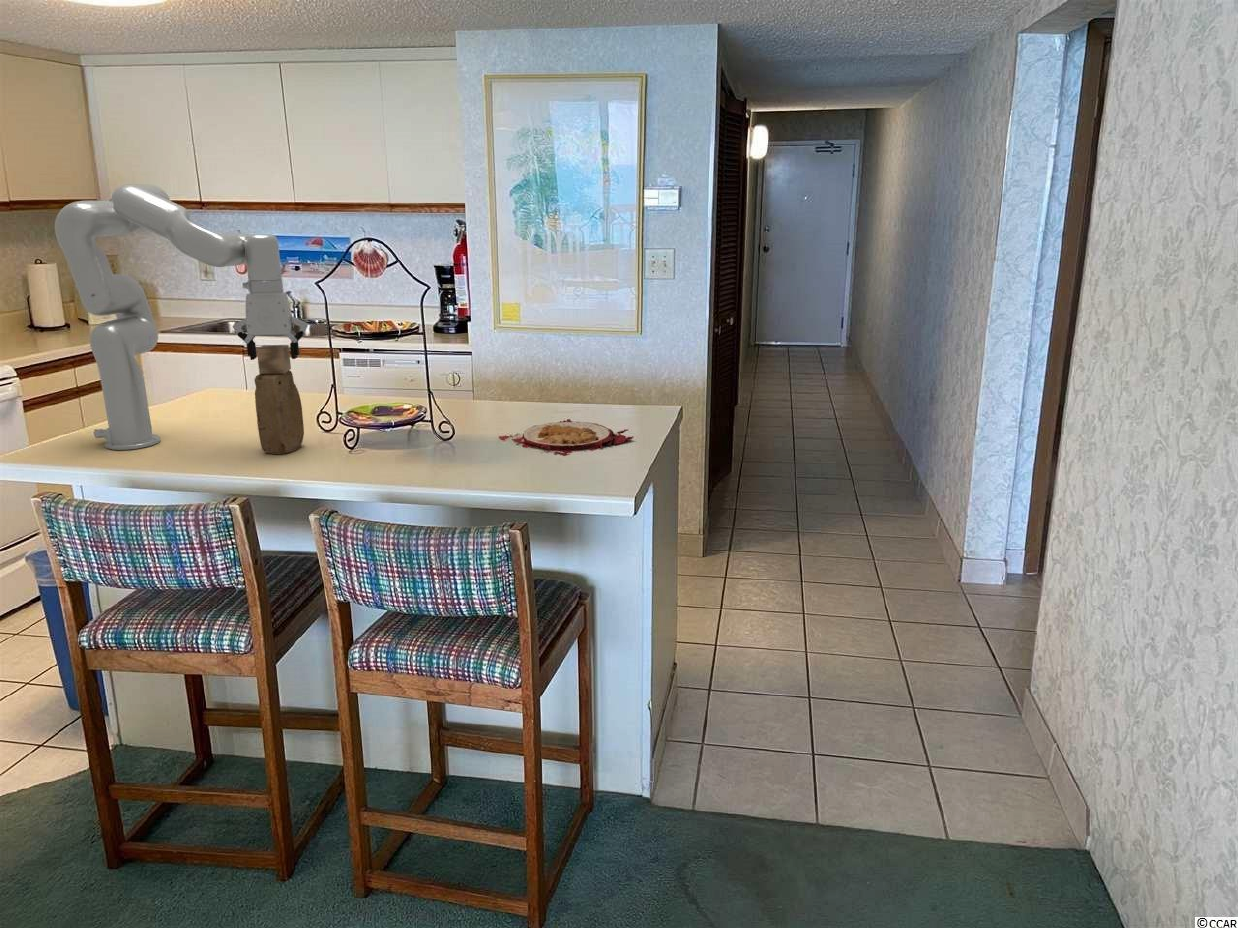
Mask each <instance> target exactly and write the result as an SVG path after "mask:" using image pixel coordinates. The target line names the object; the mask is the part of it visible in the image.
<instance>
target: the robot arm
mask: <svg viewBox="0 0 1238 928" xmlns="http://www.w3.org/2000/svg"><path fill="white" fill-rule="evenodd" d="M142 229H146V230H148V231H150V232H152V233H154V234H156V235H158V236H160V237H162V238H165V239H167V240H168V241H169V242H170V243H171V244H172V246H174V247H175V248H176V249H177V250H179V252H181V253H183V254H184V255H186V256H187V257H190V258H192V259H194V260H196V261H199V262H201V263H203V264H205V265H208V266H211V267H216V268H225V267H226V268H227V267H235V266H241V265H246V271H247V282H242V288H243V289H247V291H248V293H246V295H245V318H243V319H241V320H239V321H238V322H236V323H234V324H233V325H232V329H233V330H234V331H235V333H236V334H237V337H239V338H240V339H241V340H242V341H243V342H244V343H245V344H246V349H247V350H246V352H247V356H248V357H249V358H250V359H249V360H250V361H253V360H255V359H258V357H257V346H256V342H255V341H254V339H255V338H256V337H277V336H278V337H279V336H280V337H282V336H283V337H284V336H286V337H287V338H288V339H289V340H290V343H289V346H290V347H289V350H290V359H292V360H296V359H297V358H298V356H299V355H300V348H299V341H300V340H301V339H302V337H304V335H305V334H306V331H307V329H308V326H309V324H308V323H307V322H305V321H303V320H301V319H299V318H297V317H295V316H293V313H292V309H291V304H290V301H289V297H288V294H287V292H284V283H283V276H282V266H281V256H280V248H279V239H278V238H277V237H276V235H274V234H271V233H270V234H269V233H253V234H248V233H241V232H223V233H222V232H221V233H220V232H219V233H215V232H212V231H209V230H207V229H205V228H202V227H201V226H199V225H197V224H195V223H193V222H191V214H190V213H189V210H188V209H187V208H186V207H184V206H182V205H181V204H177V203H176V202H173V201H172V200H171V198H170V196H169V195H168V193H167V192H166V191H165V190H163V189H162V188H160V187H159V186H156V185H154V184H142V183H141V184H140V183H139V184H137V183H129V184H124V185H120V186H119V187H117V188H116V189H115V190H114V191H113V192H112V194H111V199H110V200H94V199H93V200H90V199H89V200H79V201H73V202H71V203H69V204H67V205H64V206H63V208H61V209H60V211H58V213H57V216H56V218H55V223H54V233H55V236H56V239H57V243H58V245H59V247H60V249H61V250H62V253H63V255H64V257H65V259H66V262H67V265H68V268H69V270H70V272H71V273H70V274H71V276H72V278H73V282H74V285H75V287H76V290H77V293H78V295H79V298H80V300H81V303H82V305H83V308H84V309H85V311H87V312H88V313H89V314H91V315H93V316H99V317H103V316H111V315H115V317H116V319H111V320H107V321H104V322H101V323H99V324H97V325H96V326H95V327H94V328H93V329H92V330H91V332H90V334H89V346H90V349H91V352H92V354H93V357H94V360H95V362H96V365H97V368H98V369H97V370H98V373H99V379H100V384H101V388H102V389H101V390H102V396H103V401H104V406H105V413H106V418H107V424H108V427H107V428H104V429H103V428H97V429H95V428H94V429H93V436H94V438H96V439H103V438H104V439H105V441H104V446H105V448H106V449H108V450H115V451H116V450H117V451H125V450H126V451H127V450H137V449H143V448H147V447H151V446H154V445H157V444H158V443H160V442H161V437H160V435H159V434H155V433H153V428H152V422H151V415H150V409H149V408H150V407H149V403H148V394H147V391H146V390H147V389H146V385H145V384H146V383H145V378H144V373H143V370H142V368H141V366H140V364H139V363H138V361H137V359H136V357H135V356H138V355H141V354H142V355H143V354H144V353H148V352H150V351H152V350H153V349H154V348H155V347H156V346H157V344H158V340H159V332H158V328H157V325H156V321H155V318H154V316H153V313H152V310H151V307H150V304H149V300H148V299H147V296H146V293H145V290H144V289H143V287H142V286H141V284H140V283H139V282H138V280H136V279H135V278H133V277H132V276H130V275H127V274H123V273H119V274H118V273H115V274H114V273H113V271H112V268H111V266H110V265H111V264H110V263H109V259H108V257H107V255H106V253H105V251H104V250H103V249H102V248H101V246H99V244H97V242H96V241H95V239H96V238H105V237H122V236H124V235H125V236H126V235H128V234H131V233H134V232H137V231H138V230H142ZM294 325H296V326H298V327H299V330H298V332H297V333H295V331H294ZM243 326H245V327H246V332H247V333H246V332H245V331H244V330H243V329H242V327H243Z"/></svg>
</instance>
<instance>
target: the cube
mask: <svg viewBox="0 0 1238 928" xmlns="http://www.w3.org/2000/svg"><path fill="white" fill-rule="evenodd" d="M289 346H290V344H267V345H266V344H264V345H262V346H259V347H258V348H256V354H257V364H258V373H259V374H281V373H286V372H288V371H291V370H292V366H291V365H292V364H291V353H290V347H289ZM259 374H258V375H259Z"/></svg>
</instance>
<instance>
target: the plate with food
mask: <svg viewBox="0 0 1238 928" xmlns="http://www.w3.org/2000/svg"><path fill="white" fill-rule="evenodd" d="M627 431H629V429H626V428H625V429H623V430H619V431H617V432H615V433H614V431H613V430H612V429H610V428H608V427H606V426H604V425H602V424H599V423H594V422H589V421H588V422H586V421H585V422H584V421H573V420H571V419H570V418H567V419H564V420H562V421H561V420H560V421H559V422H549V423H544V424H539V425H532V427H529V428H527V429H526V430H525V431H524V432H523V434H522V436H521V437H517V436H519V433H516V434H514V435H512V434H509V435H502V436H501V435H498V438H499V440H501V441H503V442H504V441H509V440H510V438H512V439H511V441H513V442H514V443H517V444H515V445H516V446H517V445H518V446H519V444H520V445H521V444H522V448H526V449H528V448H529V450H530V449H533V448H534V449H535V448H536V449H540V450H544V451H541V452H540V453H541V454H543V453H546V454H550V453H553V455H554V456H557V455H558V454H560V456H562V457H566V456H569V455H571V454H572V453H573V452H575V451H576V452H579V451H581V450H582V451H583V450H584V452H587V451H589V452H594V451H596V450H599V451H600V450H602V449H603V445H604V446H605V444H603V443H606V445H607V446H610V445H612V443H613V445H621V444H623V443H624V442H627V441H629V440H630V441H631V440H632V439H634V436H635V435H634V436H627V437H626V435H623V434H624V433H625V432H627ZM513 437H516V438H513ZM522 440H523V441H522ZM602 444H603V445H602ZM545 450H546V451H545ZM550 451H551V452H550Z"/></svg>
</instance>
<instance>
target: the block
mask: <svg viewBox="0 0 1238 928" xmlns="http://www.w3.org/2000/svg"><path fill="white" fill-rule="evenodd" d="M253 380H254V385H255V391H254V399H255V401H254V403H255V412H256V413H255V414H256V421H257V423H256V424H257V430H258V437H259V443H260V446H261V450H262V451H263V452H264V453H267V454H272V455H282V454H283V455H284V454H289V453H293V452H296V451H297V450H298V449H299V448H300V447H301V446H302V443H303V440H304V435H305V427H304V417H303V416H304V415H303V405H302V401H301V400H302V399H301V396H300V393H299V390H298V387H297V384H295V381H294V376H293V372H292V371H291V370H289V371H288V372H286V373H281V374H258V375H256V376H255V378H254V379H253Z"/></svg>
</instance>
